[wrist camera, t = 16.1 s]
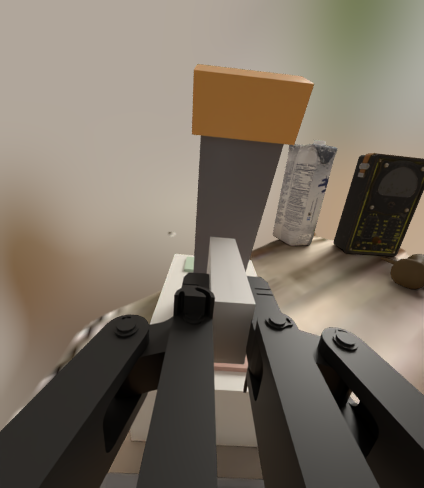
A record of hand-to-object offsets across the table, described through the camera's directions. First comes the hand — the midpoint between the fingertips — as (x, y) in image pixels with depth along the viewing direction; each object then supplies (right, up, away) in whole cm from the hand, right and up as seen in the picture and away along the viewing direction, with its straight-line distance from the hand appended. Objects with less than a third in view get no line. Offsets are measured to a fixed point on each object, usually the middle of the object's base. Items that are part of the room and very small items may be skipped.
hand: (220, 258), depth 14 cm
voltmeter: (+42, -1, +51) cm, 66 cm away
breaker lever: (0, -4, +11) cm, 12 cm away
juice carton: (+22, +2, +53) cm, 58 cm away
